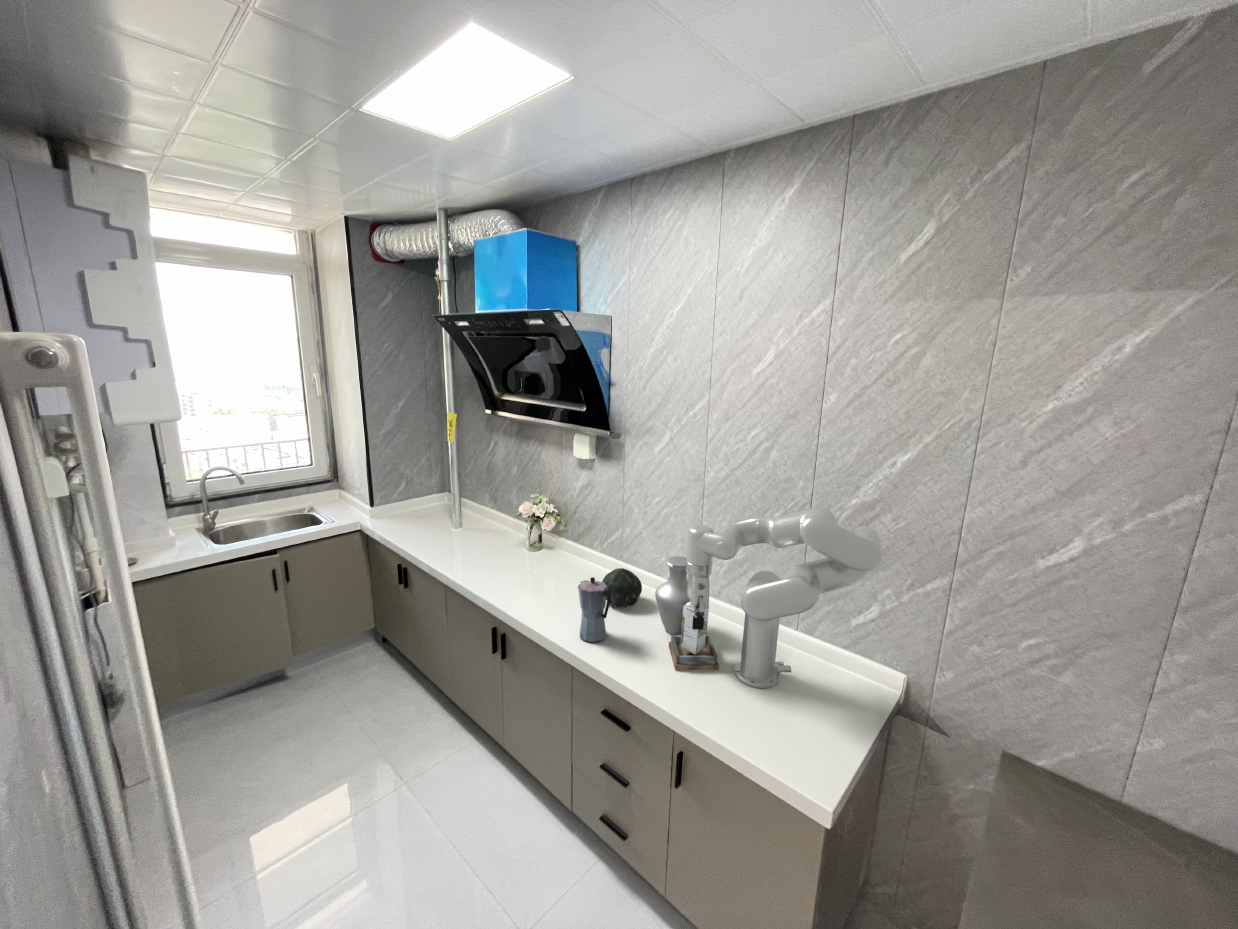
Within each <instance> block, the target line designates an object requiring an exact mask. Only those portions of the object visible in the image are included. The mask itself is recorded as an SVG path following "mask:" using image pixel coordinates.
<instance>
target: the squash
mask: <svg viewBox="0 0 1238 929" xmlns="http://www.w3.org/2000/svg"><path fill="white" fill-rule="evenodd" d="M601 582H604V583H605V584H606V586H607V593H608V595H609V596H610V604H612V605H613V607H614V608H618V607H621V608H627V607H628V606H633V605H635V604H636V603H637V602H638V601H639V598H640V596H641V594H642V590H643V586H642V581H641V580H640V578H639V577H638V576H637V575H636V574H635V573H634V572H633V571H630V570H629V569H626V568H622V567H620V568H615V569H613V570H612V571H610V572H608V573H607V574H606V575H604V577H603V579H602V581H601ZM606 601H607V597H606Z"/></svg>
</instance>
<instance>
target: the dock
mask: <svg viewBox="0 0 1238 929" xmlns="http://www.w3.org/2000/svg"><path fill="white" fill-rule="evenodd" d="M680 643H681V635H671V636H670V641H668V648H669V652H670V656H671V659H672V664H673V667H674V671H720V665H719V662H718V654H717V651H716V649H715V647H714V644H713V642H712V640H711V638H710V636H709V635H706V645H705V648H704V649H702V650H701V651H700V652H699V653H697V654H696V655H695V654H693V653H691V652H688V651H686V650H684V649H682V648H680Z"/></svg>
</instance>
